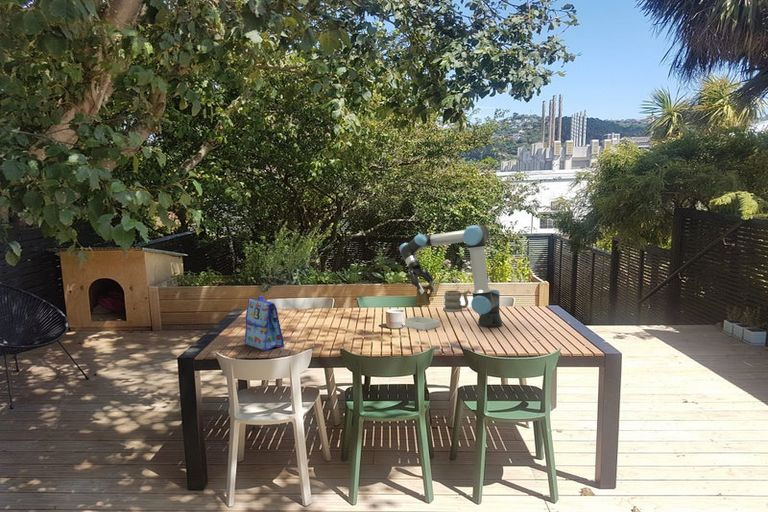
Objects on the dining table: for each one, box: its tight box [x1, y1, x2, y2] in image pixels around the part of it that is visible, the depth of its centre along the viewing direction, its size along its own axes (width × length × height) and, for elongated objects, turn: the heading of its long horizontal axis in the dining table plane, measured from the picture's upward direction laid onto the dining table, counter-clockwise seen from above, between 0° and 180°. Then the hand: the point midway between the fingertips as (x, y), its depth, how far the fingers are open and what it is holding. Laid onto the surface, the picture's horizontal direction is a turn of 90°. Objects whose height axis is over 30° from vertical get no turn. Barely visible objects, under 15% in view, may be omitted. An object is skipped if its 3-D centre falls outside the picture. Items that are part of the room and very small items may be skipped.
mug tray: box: [403, 315, 441, 332], centre depth 344 cm, size 20×15×4 cm
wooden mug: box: [414, 276, 437, 307], centre depth 337 cm, size 9×14×18 cm, turn 73°
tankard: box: [443, 289, 473, 313], centre depth 390 cm, size 20×13×15 cm, turn 73°
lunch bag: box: [244, 295, 285, 352], centre depth 305 cm, size 22×14×29 cm, turn 45°
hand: (428, 292), depth 334 cm, fingers closed on wooden mug, 8 cm apart
